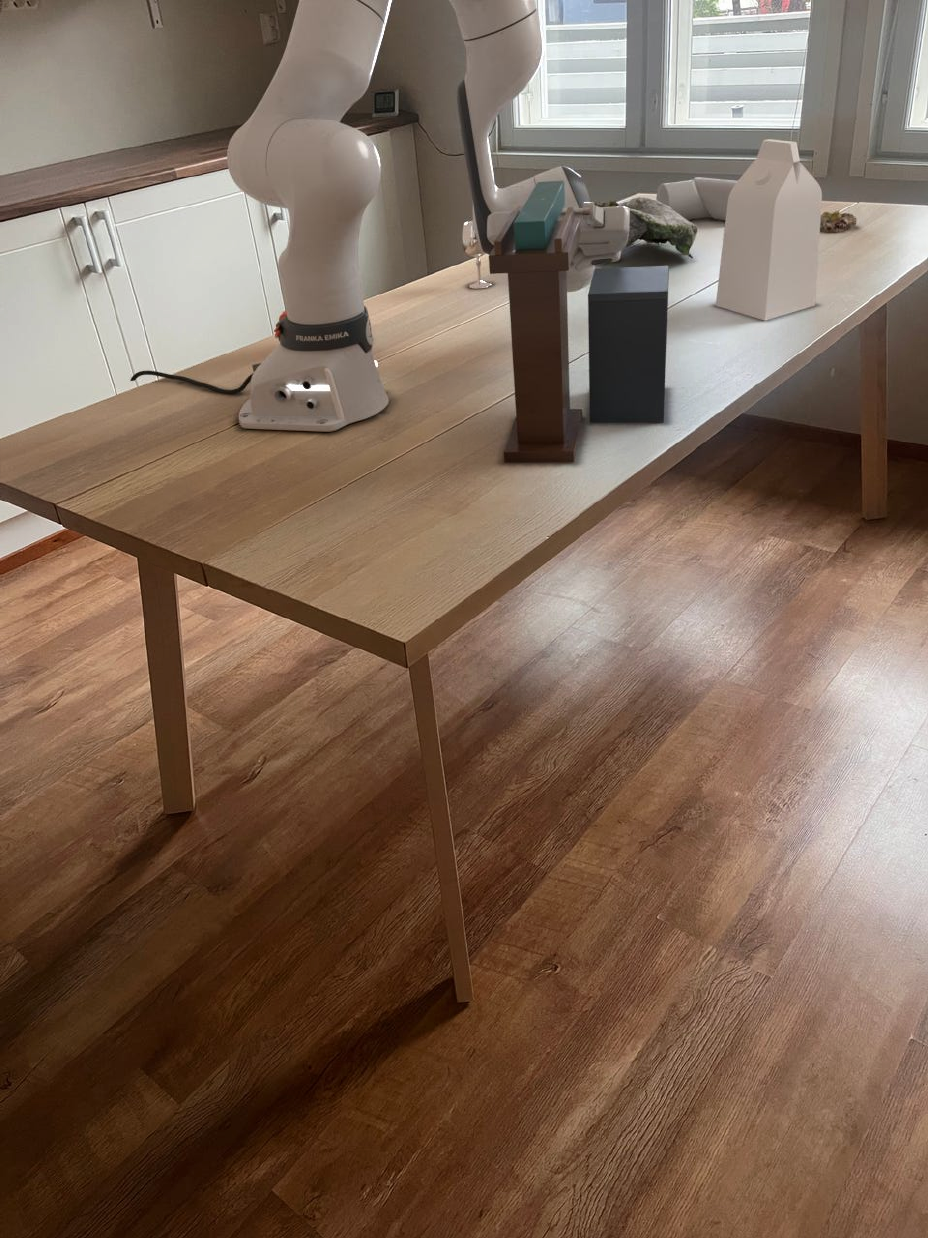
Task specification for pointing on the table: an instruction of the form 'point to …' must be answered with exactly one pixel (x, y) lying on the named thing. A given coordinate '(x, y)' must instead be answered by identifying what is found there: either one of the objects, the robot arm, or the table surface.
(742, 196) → the milk
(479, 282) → the wineglass
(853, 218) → the mineral rock
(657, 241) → the mossy grey boulder
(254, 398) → the robot arm
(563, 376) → the walnut stand
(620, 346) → the slate crate
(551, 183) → the teal block
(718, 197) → the bent grey cylinder
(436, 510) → the table surface
